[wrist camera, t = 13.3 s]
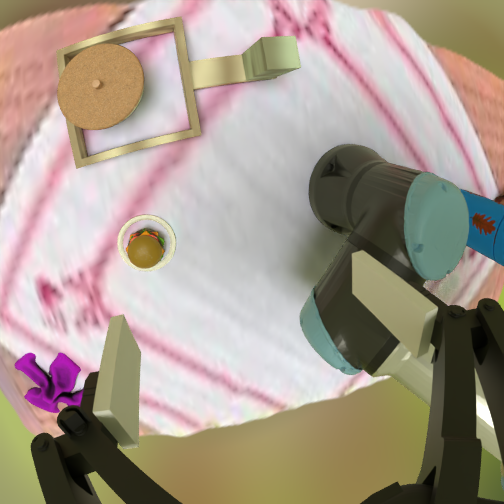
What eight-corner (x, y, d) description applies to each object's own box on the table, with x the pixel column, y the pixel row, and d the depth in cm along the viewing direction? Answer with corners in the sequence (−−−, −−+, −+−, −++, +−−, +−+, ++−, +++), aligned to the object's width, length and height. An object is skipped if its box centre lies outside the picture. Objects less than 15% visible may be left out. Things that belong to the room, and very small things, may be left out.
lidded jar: (162, 98, 38) (161, 89, 30) (100, 145, 38) (83, 149, 30) (122, 42, 33) (112, 22, 25) (61, 89, 33) (37, 82, 25)
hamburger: (195, 214, 46) (199, 225, 42) (173, 284, 50) (175, 302, 45) (118, 193, 42) (112, 202, 37) (102, 267, 45) (96, 283, 40)
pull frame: (262, 16, 36) (289, -10, 26) (279, 120, 43) (312, 120, 34) (63, 55, 31) (36, 37, 21) (82, 165, 38) (58, 178, 28)
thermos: (441, 180, 56) (539, 217, 34) (466, 192, 59) (553, 228, 37) (427, 228, 59) (518, 279, 37) (453, 236, 63) (535, 281, 40)
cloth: (34, 410, 52) (29, 429, 46) (0, 349, 45) (-10, 368, 39) (119, 411, 57) (119, 433, 52) (95, 347, 50) (91, 370, 45)
